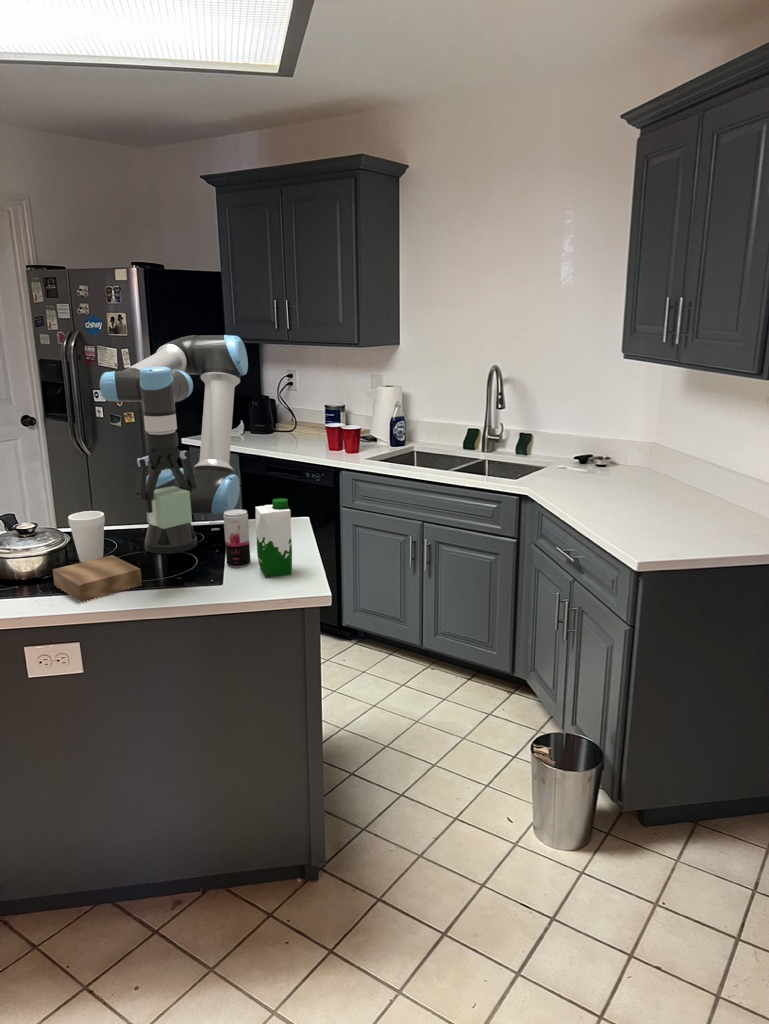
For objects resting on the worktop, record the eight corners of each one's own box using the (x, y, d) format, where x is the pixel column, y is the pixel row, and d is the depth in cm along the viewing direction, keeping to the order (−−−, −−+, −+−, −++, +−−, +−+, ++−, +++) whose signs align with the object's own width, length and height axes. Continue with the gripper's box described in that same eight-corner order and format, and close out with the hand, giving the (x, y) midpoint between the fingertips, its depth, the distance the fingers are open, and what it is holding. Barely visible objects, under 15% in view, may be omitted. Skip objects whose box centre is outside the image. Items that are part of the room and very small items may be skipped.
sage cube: (175, 515, 195) (173, 485, 193) (192, 521, 190) (189, 491, 188) (147, 522, 190) (144, 491, 188) (163, 528, 184) (160, 497, 182)
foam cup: (71, 566, 209) (66, 521, 206) (75, 555, 218) (69, 512, 214) (107, 562, 212) (102, 518, 208) (109, 552, 220) (105, 509, 217)
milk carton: (295, 575, 200) (292, 502, 195) (262, 579, 197) (258, 506, 192) (288, 565, 208) (285, 495, 203) (255, 569, 205) (251, 498, 200)
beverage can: (239, 569, 205) (236, 516, 201) (221, 565, 209) (218, 513, 205) (255, 562, 211) (252, 510, 207) (237, 558, 214) (234, 507, 210)
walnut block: (113, 572, 205) (111, 555, 204) (142, 587, 194) (140, 568, 193) (54, 587, 194) (52, 569, 193) (81, 604, 183) (79, 585, 182)
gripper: (190, 424, 193) (197, 509, 199) (113, 435, 179) (123, 526, 185) (206, 427, 188) (213, 515, 194) (128, 439, 174) (138, 533, 180)
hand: (169, 520), depth 190 cm, fingers closed on sage cube, 8 cm apart
